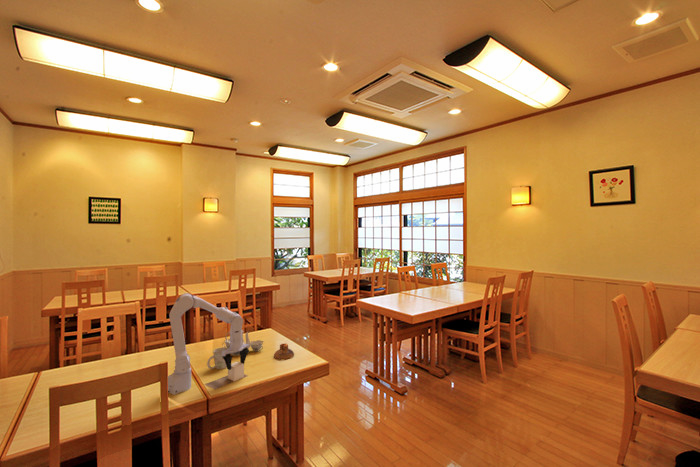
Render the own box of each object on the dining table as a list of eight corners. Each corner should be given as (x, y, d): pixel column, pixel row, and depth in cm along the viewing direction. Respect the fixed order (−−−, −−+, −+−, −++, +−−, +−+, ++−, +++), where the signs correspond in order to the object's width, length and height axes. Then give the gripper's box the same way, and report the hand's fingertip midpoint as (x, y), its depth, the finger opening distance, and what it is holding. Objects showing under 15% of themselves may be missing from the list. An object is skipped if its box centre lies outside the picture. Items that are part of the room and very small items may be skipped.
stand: (215, 391, 146) (215, 389, 146) (204, 386, 151) (204, 384, 151) (248, 377, 161) (248, 375, 161) (237, 373, 166) (237, 371, 166)
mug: (233, 367, 174) (233, 348, 174) (212, 375, 163) (212, 356, 164) (223, 364, 178) (223, 346, 179) (202, 372, 168) (202, 353, 168)
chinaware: (267, 350, 205) (268, 324, 207) (256, 357, 189) (258, 328, 191) (225, 349, 208) (227, 323, 210) (212, 355, 192) (213, 327, 194)
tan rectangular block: (234, 381, 155) (234, 367, 155) (227, 378, 158) (227, 365, 158) (243, 377, 159) (243, 363, 159) (237, 374, 162) (237, 361, 162)
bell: (296, 357, 188) (296, 345, 189) (276, 361, 183) (276, 348, 183) (291, 351, 199) (290, 340, 199) (271, 354, 193) (271, 342, 194)
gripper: (227, 344, 151) (227, 373, 150) (253, 336, 162) (253, 363, 162) (219, 341, 155) (218, 369, 154) (244, 334, 167) (244, 360, 166)
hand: (235, 366), depth 159 cm, fingers open, 7 cm apart
